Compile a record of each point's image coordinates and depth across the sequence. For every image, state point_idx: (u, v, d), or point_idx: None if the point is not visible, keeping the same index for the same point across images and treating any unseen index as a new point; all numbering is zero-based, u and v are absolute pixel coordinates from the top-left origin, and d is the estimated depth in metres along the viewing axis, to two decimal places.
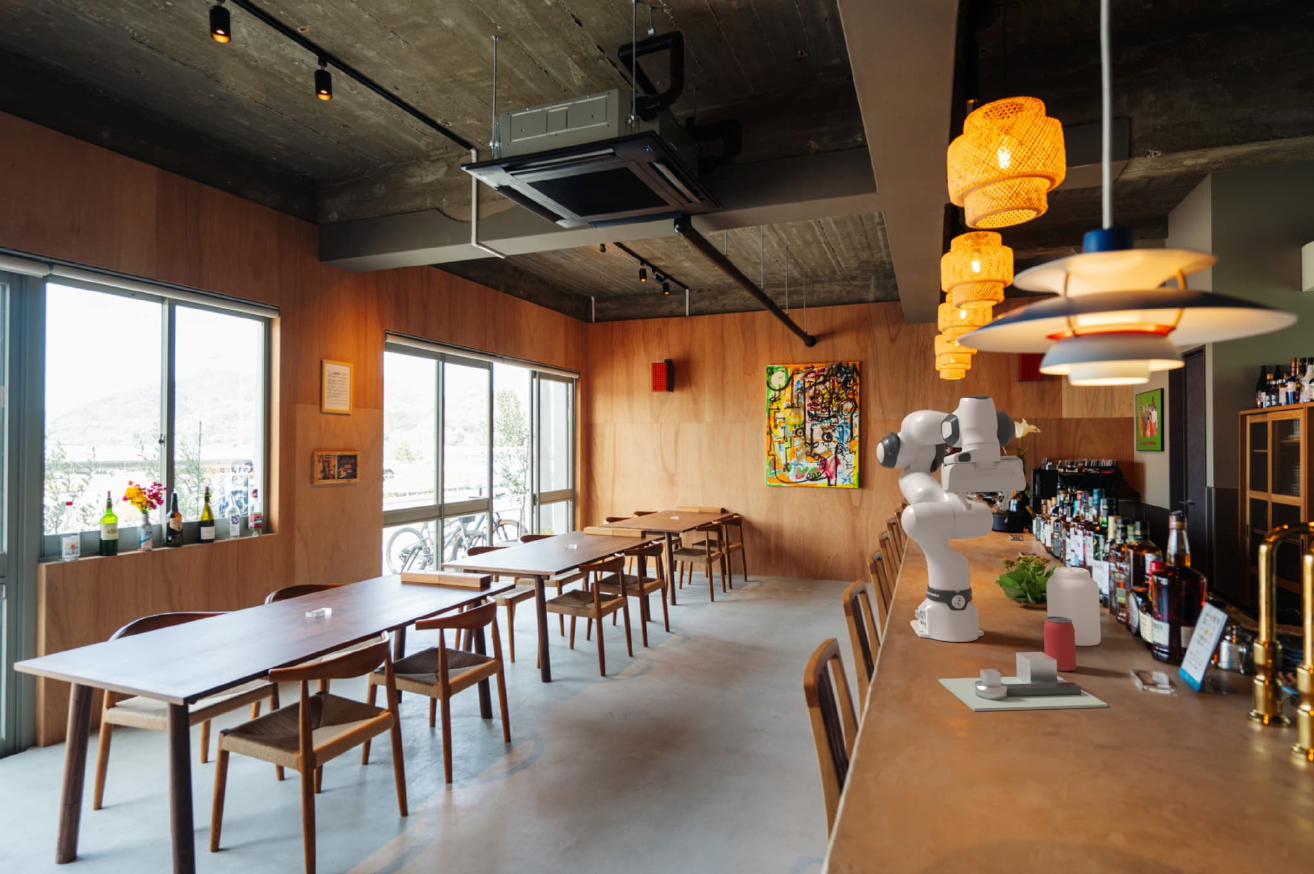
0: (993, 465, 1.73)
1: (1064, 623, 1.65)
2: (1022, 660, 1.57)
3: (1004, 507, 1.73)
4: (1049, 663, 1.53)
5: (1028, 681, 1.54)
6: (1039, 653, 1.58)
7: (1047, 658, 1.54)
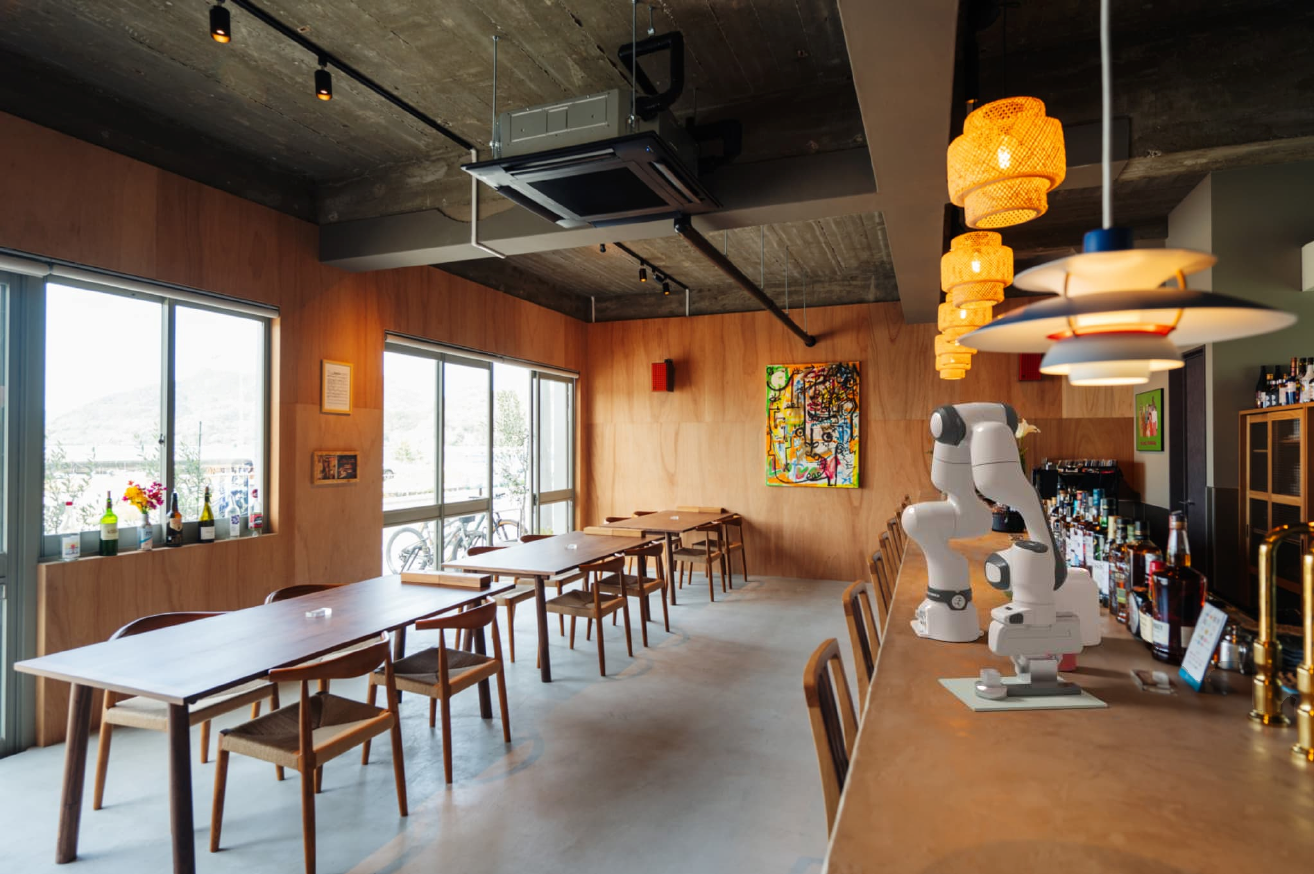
0: (1048, 627, 1.54)
1: None
2: (1022, 660, 1.57)
3: None
4: (1049, 663, 1.53)
5: (1028, 681, 1.54)
6: None
7: (1047, 658, 1.54)
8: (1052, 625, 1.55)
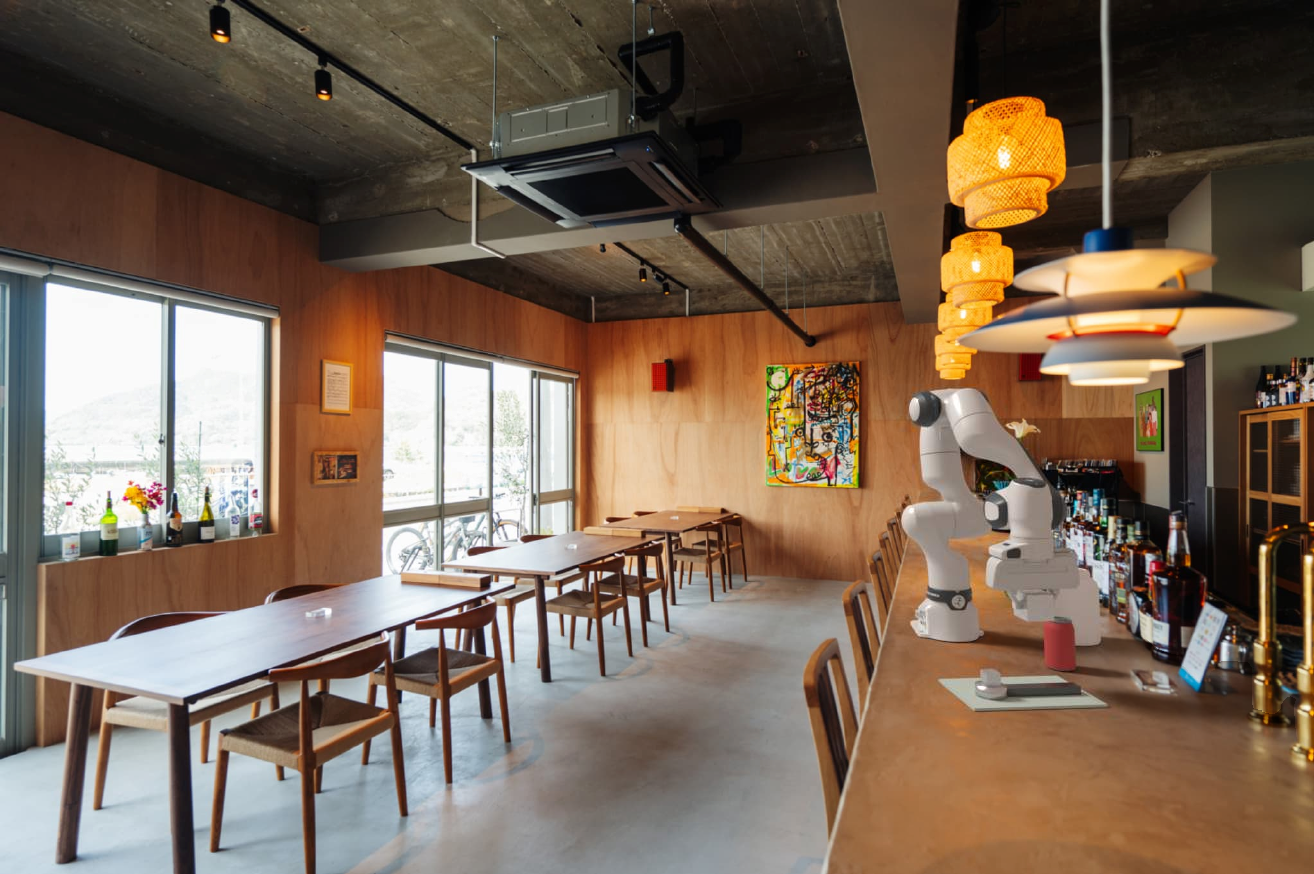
0: (1045, 562, 1.54)
1: (1064, 623, 1.65)
2: (1019, 595, 1.57)
3: None
4: (1046, 598, 1.54)
5: (1025, 616, 1.55)
6: (1036, 590, 1.59)
7: (1044, 593, 1.55)
8: (1049, 560, 1.55)
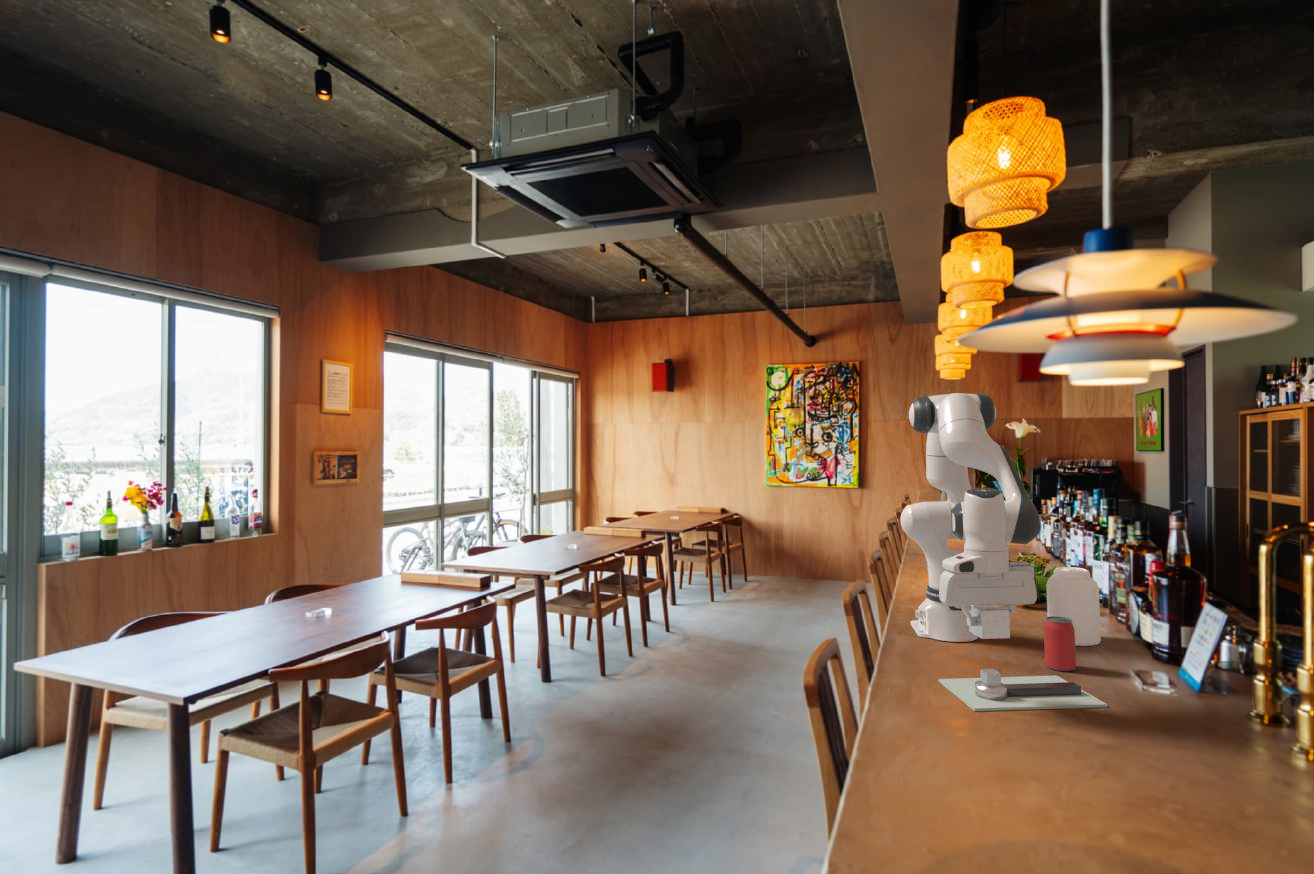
0: (1000, 576, 1.47)
1: (1064, 623, 1.65)
2: (974, 611, 1.50)
3: None
4: (1001, 614, 1.46)
5: (979, 633, 1.47)
6: (992, 605, 1.51)
7: (999, 609, 1.48)
8: (1004, 574, 1.48)
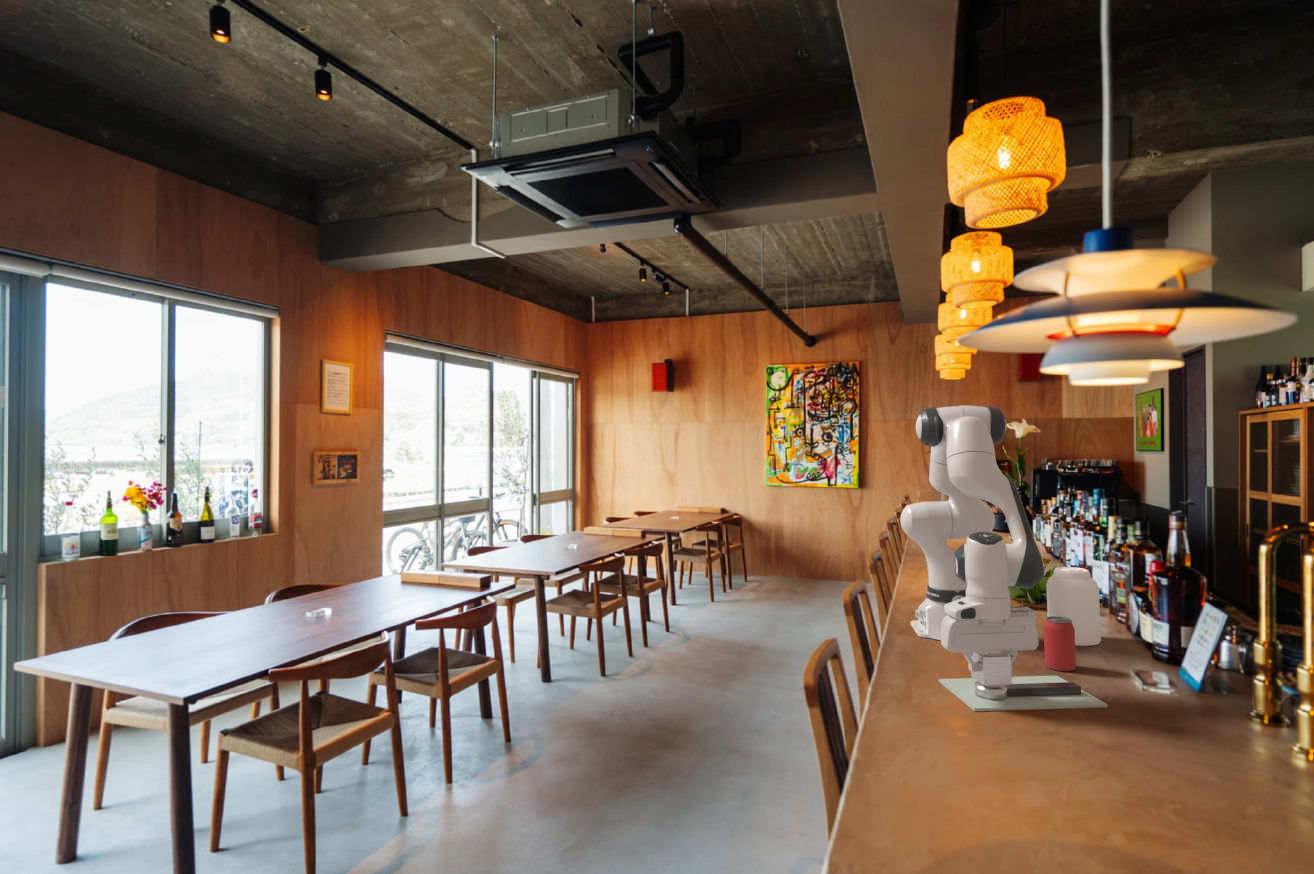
0: (1001, 622, 1.47)
1: (1064, 623, 1.65)
2: (976, 657, 1.50)
3: None
4: (1003, 660, 1.46)
5: (981, 679, 1.47)
6: None
7: (1001, 655, 1.47)
8: (1006, 620, 1.48)
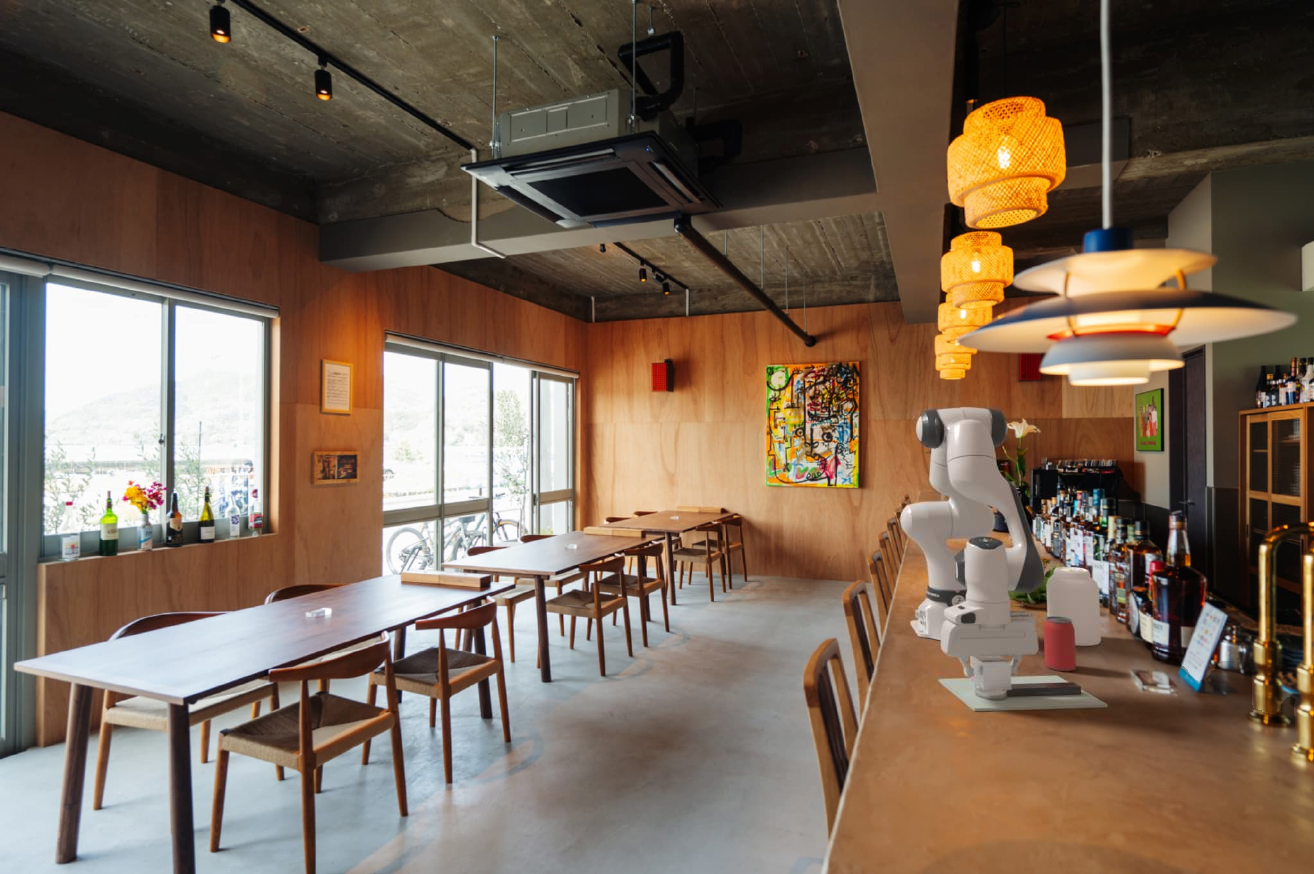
0: (1001, 627, 1.47)
1: (1064, 623, 1.65)
2: (975, 661, 1.50)
3: (1012, 673, 1.49)
4: (1003, 665, 1.46)
5: (981, 684, 1.47)
6: None
7: (1001, 660, 1.48)
8: (1006, 625, 1.48)
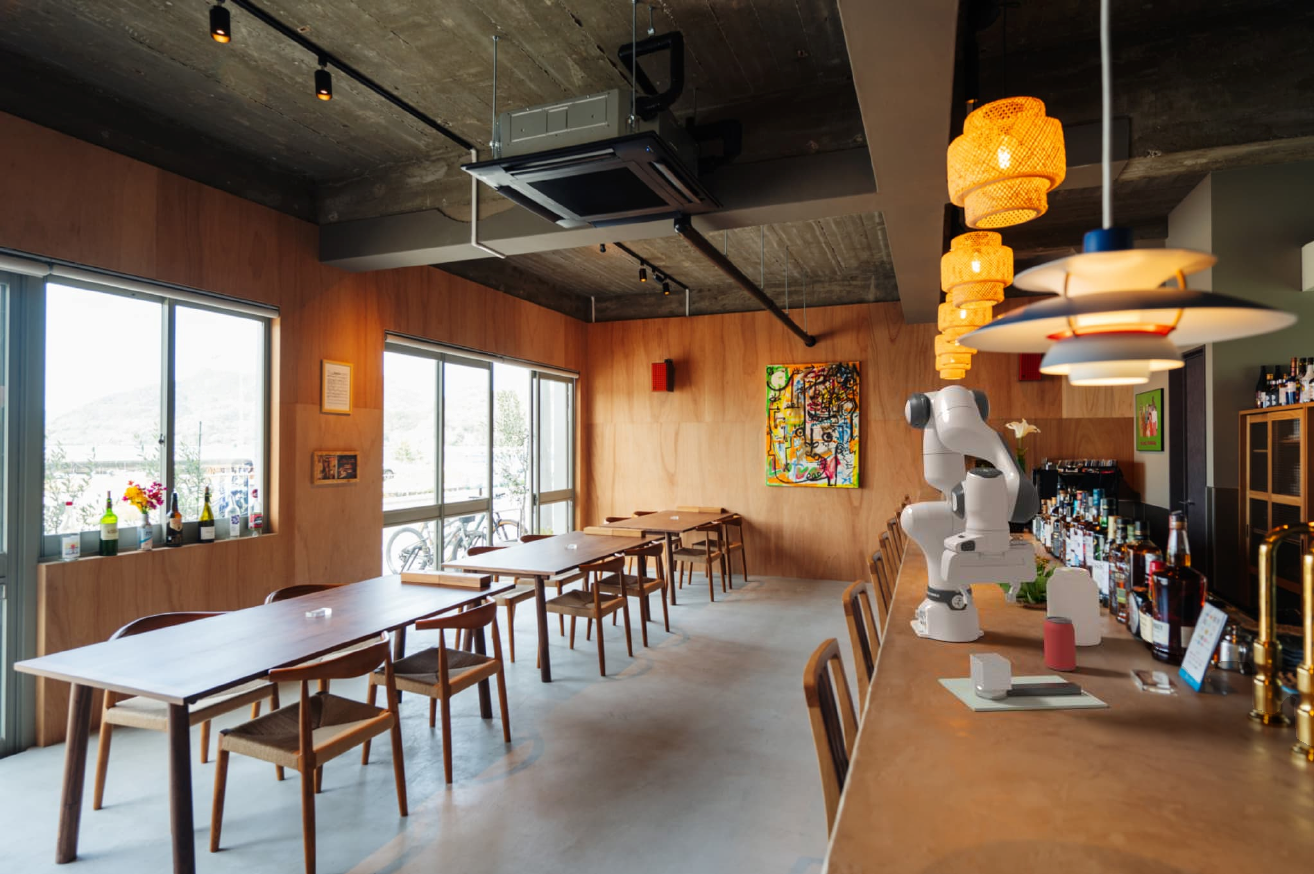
0: (1001, 554, 1.49)
1: (1064, 623, 1.65)
2: (975, 661, 1.50)
3: (1010, 600, 1.51)
4: (1003, 665, 1.46)
5: (981, 684, 1.47)
6: (993, 655, 1.51)
7: (1001, 660, 1.48)
8: (1005, 553, 1.50)
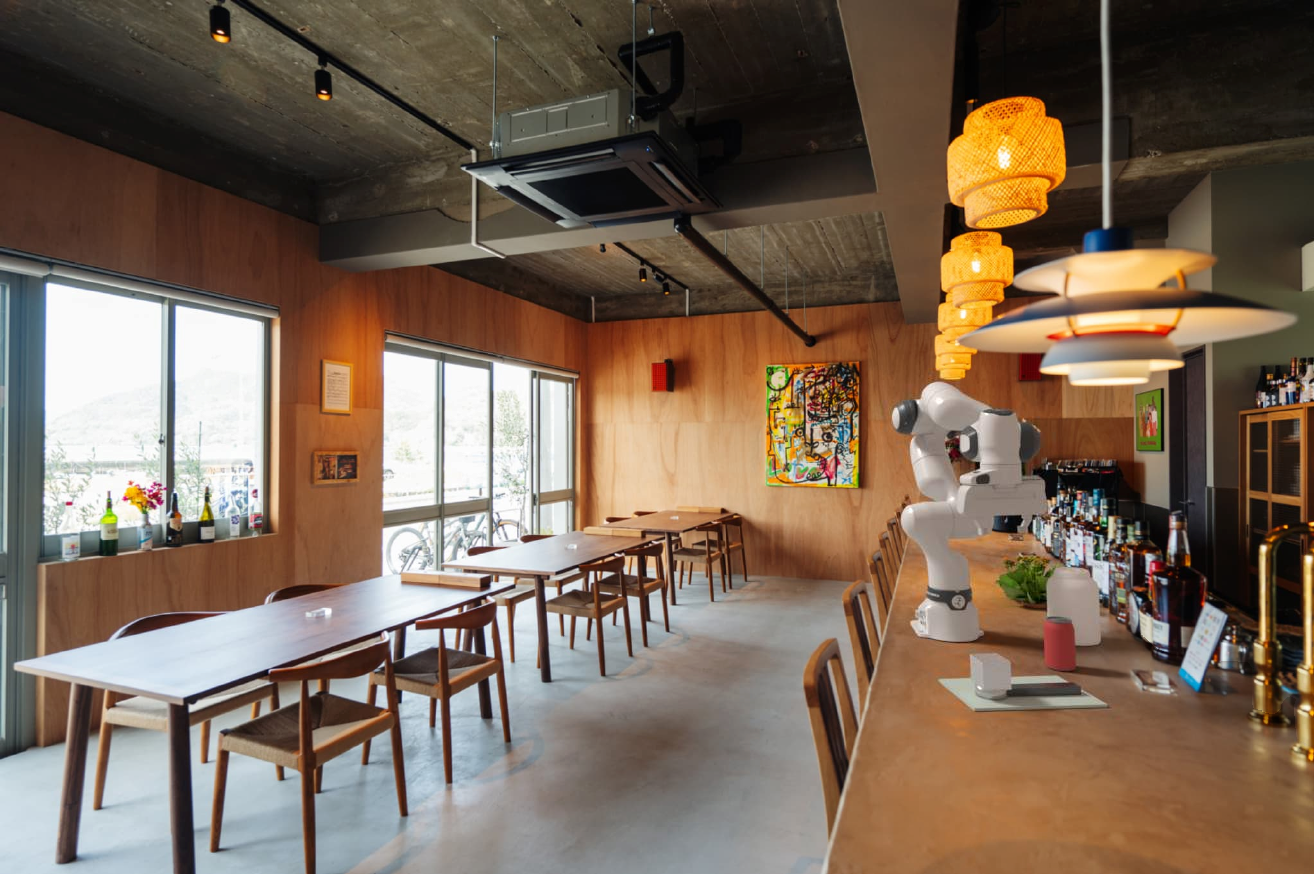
0: (1013, 487, 1.59)
1: (1064, 623, 1.65)
2: (975, 661, 1.50)
3: (1022, 532, 1.61)
4: (1003, 665, 1.46)
5: (981, 684, 1.47)
6: (993, 655, 1.51)
7: (1001, 660, 1.48)
8: (1018, 487, 1.60)
